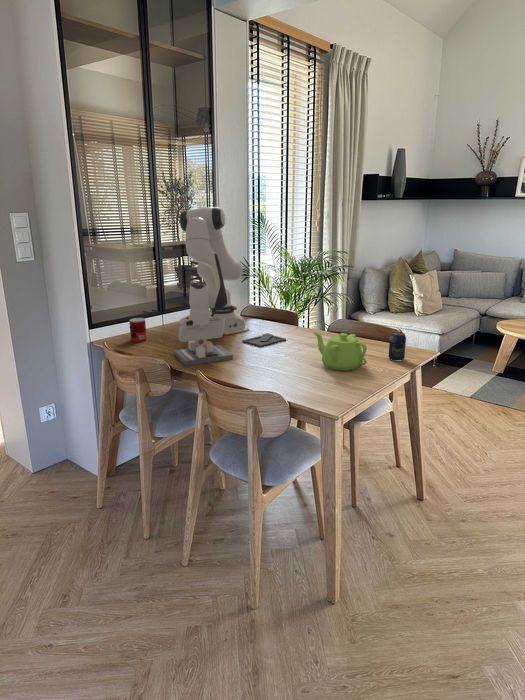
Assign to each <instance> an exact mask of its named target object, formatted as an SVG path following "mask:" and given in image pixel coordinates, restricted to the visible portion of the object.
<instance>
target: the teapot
mask: <svg viewBox="0 0 525 700" xmlns="http://www.w3.org/2000/svg"><path fill="white" fill-rule="evenodd" d="M312 334H314V335H315V337H316V339H317V347H318V351H319V353H320V354H321V356H322V357H321V362H322V364H323V365H324V367H325V368H327V369H331V370H335V371H339V372H340V371H341V372H350V371H353V370H356V369H358V368H359V367H360V366H365V365H366V364H367V362H368V361H367V358H365V355H366V352H367V345H366V344H365V343H364V342H362V341H359V339H358V338H357V335H356V334H354V333H350V334H348V333H344V332H341V333H339V334H338V335H334V336H332V337H330V338H329V339H328V341H327V343H326V344H325V343H324V340H323V337H322V335H321V334H320V333H319V332H315V331H312Z"/></svg>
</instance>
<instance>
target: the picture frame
mask: <svg viewBox="0 0 525 700" xmlns="http://www.w3.org/2000/svg"><path fill="white" fill-rule="evenodd" d="M285 340H286V341H287V339H286V338H285V337H280V336H277V335H274V334H272V333H262V334H261V335H259V336H254V337H251V338H246V339H243V340H242V342H241V343H243V342H244V343H243V344H246V343H247V344H246V345H249V344H250V345H249V346H253V345H254V346H253V347H256V346H257V347H256V348H259V347H262V348H265V347H268V345H269V346H272V345H271V344H273V345H276V344H279V343H278V342H280V343H283V342H286V341H285ZM282 341H283V342H282ZM275 343H276V344H275ZM264 346H265V347H264Z"/></svg>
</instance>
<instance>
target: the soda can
mask: <svg viewBox="0 0 525 700" xmlns="http://www.w3.org/2000/svg"><path fill="white" fill-rule="evenodd" d="M406 343H407V336H406V333H404V332H400V331H394V332H393V331H392V332H391V335H390V336H389V345H388V358H389V360H390V359H392V360H402V361H403V360H405V355H406ZM392 360H391V361H392Z"/></svg>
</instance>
